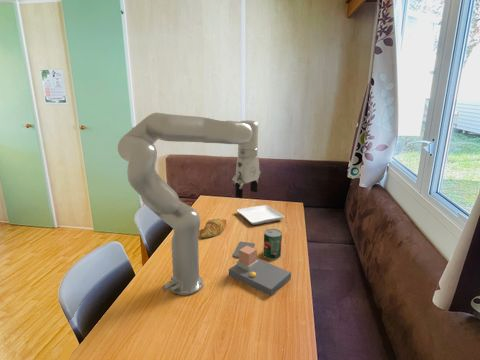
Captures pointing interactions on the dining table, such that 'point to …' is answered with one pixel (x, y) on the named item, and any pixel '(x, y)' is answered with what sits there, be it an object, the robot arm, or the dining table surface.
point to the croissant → (213, 228)
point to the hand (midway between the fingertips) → (246, 194)
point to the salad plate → (260, 214)
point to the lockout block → (247, 255)
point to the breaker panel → (260, 276)
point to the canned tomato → (272, 243)
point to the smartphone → (241, 245)
